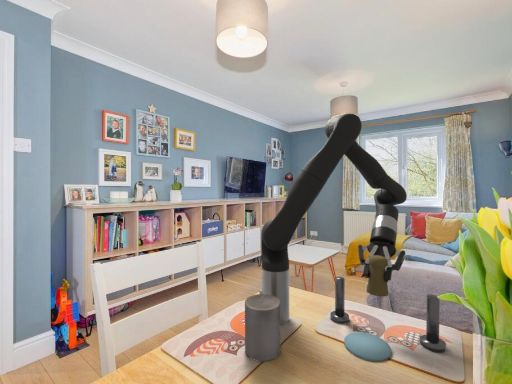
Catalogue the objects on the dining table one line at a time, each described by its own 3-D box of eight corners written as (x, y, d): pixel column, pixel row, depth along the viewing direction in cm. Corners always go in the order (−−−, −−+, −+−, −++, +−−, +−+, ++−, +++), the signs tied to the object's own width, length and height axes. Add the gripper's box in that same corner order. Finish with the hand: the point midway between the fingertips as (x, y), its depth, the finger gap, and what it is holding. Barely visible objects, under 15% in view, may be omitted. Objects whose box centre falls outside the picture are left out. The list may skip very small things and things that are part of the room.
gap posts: (327, 320, 88) (328, 278, 87) (333, 313, 93) (333, 273, 92) (445, 355, 69) (446, 303, 69) (445, 344, 74) (446, 295, 74)
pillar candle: (254, 336, 78) (254, 287, 78) (285, 345, 74) (285, 292, 73) (238, 356, 69) (237, 300, 69) (272, 367, 65) (271, 307, 65)
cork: (391, 297, 75) (392, 259, 75) (369, 295, 77) (369, 258, 76) (385, 289, 81) (385, 254, 81) (364, 287, 83) (365, 253, 82)
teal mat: (338, 350, 72) (338, 347, 72) (350, 330, 81) (350, 328, 81) (387, 367, 65) (387, 364, 65) (394, 343, 75) (394, 340, 75)
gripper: (359, 223, 89) (349, 267, 79) (408, 227, 81) (403, 277, 71) (362, 236, 93) (353, 279, 84) (409, 241, 85) (404, 290, 75)
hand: (376, 278), depth 77 cm, fingers closed on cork, 4 cm apart
